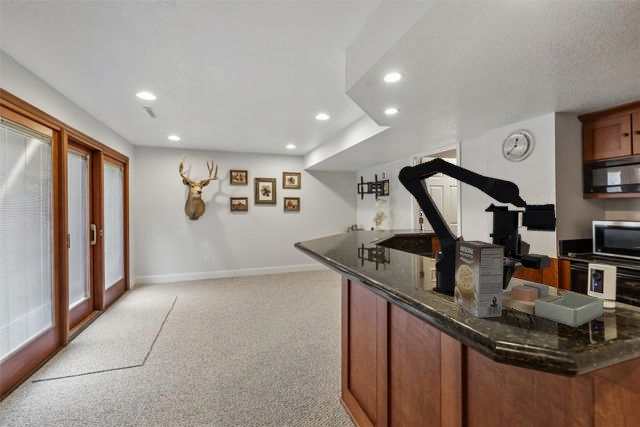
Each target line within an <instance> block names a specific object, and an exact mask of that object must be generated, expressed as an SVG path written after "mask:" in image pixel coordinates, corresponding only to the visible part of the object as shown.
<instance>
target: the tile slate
mask: <svg viewBox="0 0 640 427" xmlns="http://www.w3.org/2000/svg"><path fill="white" fill-rule="evenodd" d="M522 285H523V286H527V287H532V288H536V289H538V298H542V297H546V296H548V295H549V294H550V293H549V290H550V289H549V288H550V286H549V285H546V284H542V283H537V282H533V281H530V282H526V283H523V284H522Z"/></svg>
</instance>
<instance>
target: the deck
mask: <svg viewBox="0 0 640 427" xmlns="http://www.w3.org/2000/svg"><path fill="white" fill-rule="evenodd" d="M511 293H512V290H508V291H505V292H502V307H505V306H506V307H505V308H509V307H510V308H509V309H512V308H513V310H515V309H516V311H519V312H523V313H525V314H526V313H527V314H528V315H535V300H533V301H530V302H528V301H525V300H521V299H517V298H513V297H511ZM561 298H563V296H560V295H557V294H551V293H549V295H548V296H546V297H542V298H538V299H536V300H540V301H544V302H547V303H550V302H552V301H555V300H558V299H561Z"/></svg>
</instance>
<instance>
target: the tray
mask: <svg viewBox="0 0 640 427" xmlns="http://www.w3.org/2000/svg"><path fill="white" fill-rule="evenodd" d="M604 302H605V300H604V299H602V298H597V297H592V296H588V295H584V294H579V293H575V292H569V291H564V290H563V291H562V298H561V299H558V300H555V301H552V302H550V303H547V302H544V301H540V300H535V314H534V316H536V317H539V316H540V317H539V318H542V317H544V319H546V318H547V319H546V320H549V321H553V322H556V323H559V324H563V325H566V326H569V327H573V328H578V327H580V326H582V325H584V324H587V323H589V322H591V321H593V320H595V319H597V318H599V317H601V316H603V315H604Z"/></svg>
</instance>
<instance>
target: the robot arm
mask: <svg viewBox="0 0 640 427" xmlns="http://www.w3.org/2000/svg"><path fill="white" fill-rule="evenodd" d="M437 174H442V175H445V176H446V177H449V178H452V179H454V180H456V181H459V182H461V183H463V184H466V185H468V186H471V187H473V188H475V189H478V190H479V191H481V192H482V193H484V194H486V196H489V197H490V198H491V199H493V200H494V201H496V202H498V203H500V204H504V205H495V204H494V203H493V202H492V203H490V204H489V206H488V207H486V208H485V209H484V212H485V213H492V232H491V233H489V238H492V243H491V244H496V245H500V246H504V261H503V285H502V286H503V287H502V291H505V290H507V288H508V286H509V285H510V282H511V280H512V279H513V276H514V275H515V272H516V271H517V270H518V269H520V268H526V269H533V270H544V269H549V268H552V259H551V258H550V256H549V255H547V254H539V253H530V248H531V244H530V243H528V242H526V241H524V240H522V234H521V233H519V225H520V224H519V220H520V219H519V218H520V213H521V227H522V228H523V227H524V228H526V231H527V232H531V231H532V232H548V233H549V232H550V233H555V232H556V231H557V230H556V228H557V217H556V205H555V204H554V203H544V204H527V200H524V199H523V198H522V196H520V188H519V186H518V185H517V184H516V183H515V182H513V181H510V180H506V179H500V178H496V177H491V176H485V175H483V174H480V173H477V172H474V171H473V170H470V169H468V168H464V167H462V166H460V165H457V164H455V163H452V162H449V161H447V160H445V159H443V158H442V157H435V158H433V159H431V160H428V161H424V162H421V163H418V164H416V165H414V166H413V165H406V166H404V167H402V168H401V169H400V170H399V172H398V176H397V178H398V181H399V182H400V184H401V185H402V186H403V187H404V189H405V190H407V192H409V194H410V195H412V196H413V198H414V199H415V201H416V203H417V205H418V206H419V208H420V210H421V211H422V213H423V215H424V216H425V218H426V220H427V222H428V224H429V225H430V227H431V228H432V231H433V232H434V234H435V236H436V237H437V239H438V242H439V244H440V248H441V252H442V255H443V257H444V258H443V259H441V260H440V261H439V262H437V263H436V264H435V263H434V267H435V266H436V277H435V286H434V287H432V288H431V289H432V291H434V292H438V293H441V294H444V295H447V296H448V295H449V296H455V268H456V241H465V239H464V236H463V235H460V236H459V237H457V235H456V234H454V232H453V231H452V230H451V228H450V226H449V225H448V223H447V221H446V220H445V218H444V216H443V215H442V213H441V210H440V209H439V208H438V205H437V204H436V202H435V201H434V199H433V197H432V196H431V194H430V193H429V190H428V187H427V181H426V180H427V179H429V178H431V177H434V176H436V175H437ZM505 204H510V205H513V206H514V207H516V208H518V209H519V208H521V209H522V210H521V209H519V210H517V209H509V206H508V205H505ZM523 209H524V210H523ZM439 244H438V245H439ZM440 248H439V249H440Z"/></svg>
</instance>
